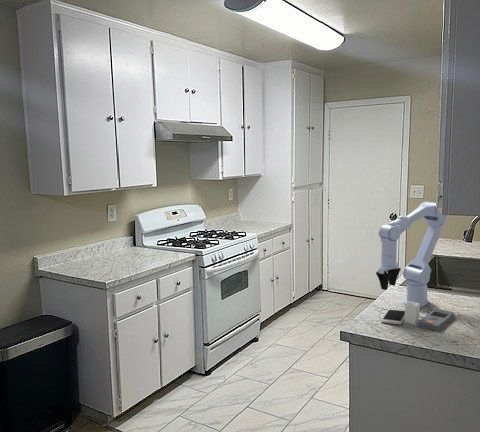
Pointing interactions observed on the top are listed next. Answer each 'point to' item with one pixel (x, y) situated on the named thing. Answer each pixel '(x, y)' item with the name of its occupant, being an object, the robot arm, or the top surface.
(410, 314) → the charger plug
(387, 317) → the smartphone
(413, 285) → the robot arm
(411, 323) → the sticky note
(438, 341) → the top surface
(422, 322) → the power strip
